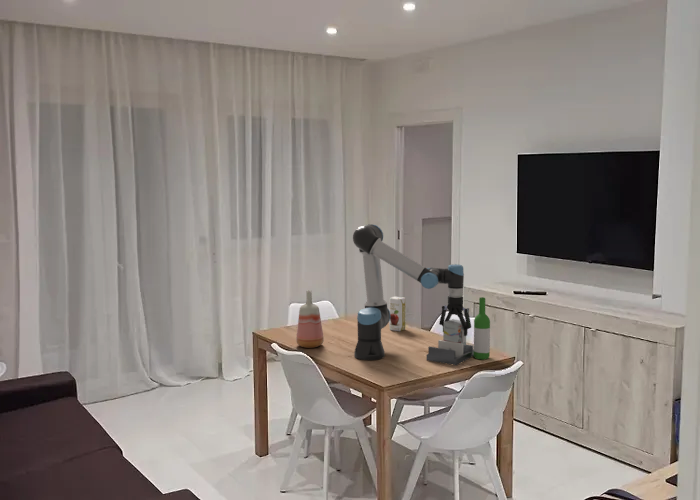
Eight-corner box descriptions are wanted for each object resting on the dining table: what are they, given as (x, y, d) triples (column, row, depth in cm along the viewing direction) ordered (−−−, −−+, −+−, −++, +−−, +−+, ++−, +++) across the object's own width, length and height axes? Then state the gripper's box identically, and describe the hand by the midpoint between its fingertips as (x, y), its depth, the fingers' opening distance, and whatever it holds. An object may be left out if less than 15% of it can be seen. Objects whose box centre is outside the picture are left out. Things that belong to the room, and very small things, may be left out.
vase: (290, 346, 351) (289, 291, 347) (310, 341, 361) (309, 287, 358) (309, 351, 341) (308, 294, 337) (329, 345, 351) (328, 290, 348)
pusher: (463, 357, 323) (463, 343, 322) (458, 360, 318) (458, 346, 317) (439, 353, 330) (439, 339, 330) (433, 356, 326) (433, 342, 325)
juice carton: (394, 327, 390) (394, 295, 388) (407, 329, 385) (407, 297, 383) (387, 330, 384) (387, 297, 382) (400, 332, 379) (400, 299, 377)
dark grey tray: (475, 355, 331) (475, 341, 330) (456, 365, 314) (456, 351, 313) (446, 350, 340) (446, 337, 339) (426, 360, 323) (426, 346, 322)
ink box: (457, 347, 324) (457, 324, 322) (442, 344, 330) (442, 321, 328) (466, 344, 330) (467, 320, 329) (452, 341, 336) (452, 318, 334)
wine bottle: (472, 355, 330) (473, 296, 326) (488, 355, 330) (489, 296, 326) (474, 360, 322) (475, 299, 318) (490, 360, 322) (491, 299, 318)
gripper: (432, 294, 330) (431, 339, 333) (472, 299, 318) (471, 345, 321) (439, 292, 336) (438, 335, 339) (479, 297, 324) (478, 342, 327)
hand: (454, 340), depth 330 cm, fingers closed on ink box, 9 cm apart
